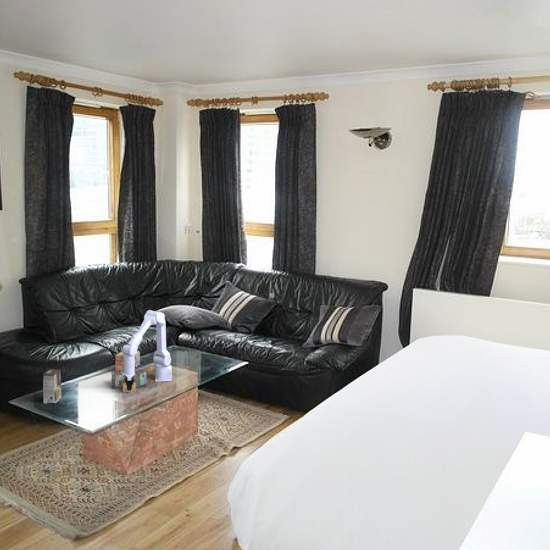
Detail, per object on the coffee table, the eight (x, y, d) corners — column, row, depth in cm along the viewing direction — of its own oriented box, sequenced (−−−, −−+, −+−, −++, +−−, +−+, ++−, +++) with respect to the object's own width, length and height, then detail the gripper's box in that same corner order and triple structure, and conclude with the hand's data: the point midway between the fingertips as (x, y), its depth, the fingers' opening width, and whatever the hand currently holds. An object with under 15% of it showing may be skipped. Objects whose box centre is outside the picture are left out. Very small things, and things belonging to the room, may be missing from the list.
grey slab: (146, 380, 355) (146, 371, 354) (147, 387, 343) (147, 378, 342) (112, 382, 350) (112, 373, 349) (111, 388, 338) (111, 379, 338)
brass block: (123, 390, 337) (123, 383, 336) (135, 390, 338) (135, 382, 338) (123, 392, 334) (123, 384, 333) (135, 392, 335) (135, 384, 335)
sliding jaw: (146, 379, 353) (146, 370, 353) (146, 384, 344) (146, 376, 343) (140, 379, 353) (140, 371, 352) (140, 385, 343) (140, 376, 342)
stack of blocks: (131, 364, 386) (131, 345, 384) (140, 365, 384) (140, 346, 383) (115, 374, 365) (115, 354, 363) (124, 375, 364) (124, 355, 362)
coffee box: (50, 397, 322) (49, 368, 319) (61, 398, 322) (61, 369, 319) (43, 403, 313) (42, 374, 310) (55, 404, 313) (54, 374, 310)
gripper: (122, 362, 340) (122, 384, 342) (121, 369, 326) (121, 393, 328) (135, 361, 341) (134, 384, 343) (135, 369, 328) (135, 392, 330)
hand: (129, 388), depth 336 cm, fingers open, 5 cm apart
